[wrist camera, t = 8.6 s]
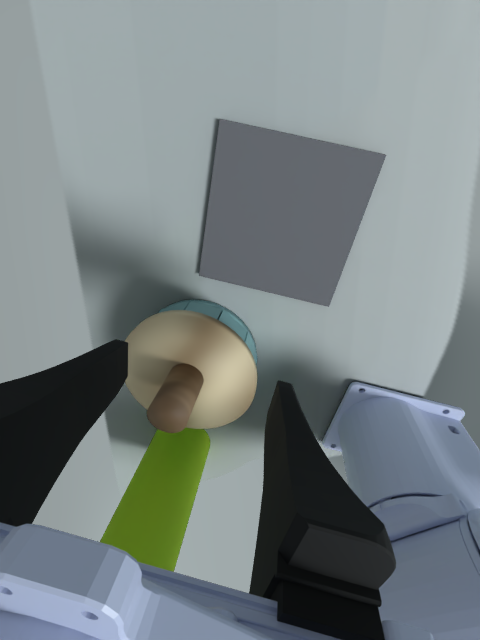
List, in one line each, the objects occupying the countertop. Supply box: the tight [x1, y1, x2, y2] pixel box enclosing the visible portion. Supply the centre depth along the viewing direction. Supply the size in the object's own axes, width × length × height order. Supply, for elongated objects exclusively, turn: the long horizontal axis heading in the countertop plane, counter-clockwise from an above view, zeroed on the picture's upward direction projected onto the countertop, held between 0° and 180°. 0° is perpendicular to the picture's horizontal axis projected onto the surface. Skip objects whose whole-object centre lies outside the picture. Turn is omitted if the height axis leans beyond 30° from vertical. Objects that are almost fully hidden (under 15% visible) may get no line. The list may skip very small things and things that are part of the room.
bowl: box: [158, 299, 258, 365], centre depth 24 cm, size 10×10×4 cm
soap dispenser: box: [100, 427, 210, 572], centre depth 23 cm, size 6×7×20 cm
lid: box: [125, 310, 257, 433], centre depth 20 cm, size 10×10×5 cm
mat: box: [199, 119, 386, 307], centre depth 20 cm, size 10×10×1 cm
